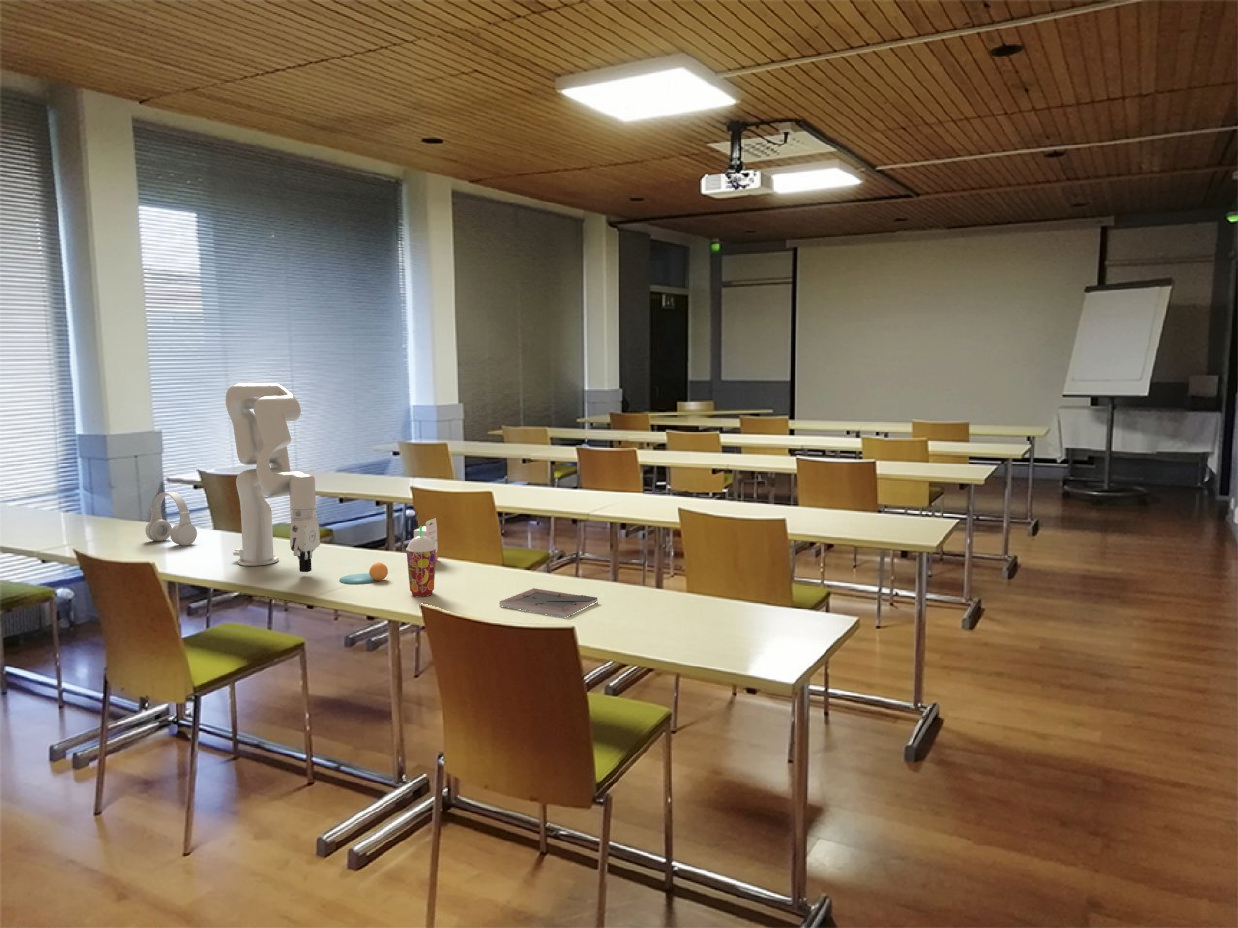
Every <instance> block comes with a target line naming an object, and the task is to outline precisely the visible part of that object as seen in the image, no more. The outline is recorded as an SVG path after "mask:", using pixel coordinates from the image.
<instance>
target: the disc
mask: <svg viewBox="0 0 1238 928" xmlns="http://www.w3.org/2000/svg"><path fill="white" fill-rule="evenodd" d="M338 581H339V582H340V583H342V584H345V585H366V584H367V585H368V584H372V583H376V582H378V581H377V580H374V579H372V578H371V576H370V574H369V572H368V573H367V572H366V573H355V574H354V573H353V574H348V575H345V576H342V577H341V578H339V580H338Z"/></svg>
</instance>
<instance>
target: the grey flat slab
mask: <svg viewBox="0 0 1238 928" xmlns="http://www.w3.org/2000/svg"><path fill="white" fill-rule="evenodd" d="M596 601H597V602H598V597H597V596H596V597H595V596H590V595H584V594H583V595H582V594H581V595H580V594H575V593H574V594H573V593H566V592H559V591H553V590H547V589H540V588H534V587H533V588H531V589H528V590H526V591H523V592H520V593H518V594H515V595H513V596H510V597H507V598H505V599H502V600H499V607H500V606H503V607H509V608H515V609H521V610H526V611H525V612H527V611H531V612H530V613H533V612H535V613H534V614H540V615H545V614H547V615H546V616H551V615H552V617H556V616H558V617H559V618H562V617H567V616H569V615H571V614H573V613H575V612H577V611H579V610H581V609H583V608H585V607H587V606H589V605H590V604H592V603H595V602H596ZM503 607H502V608H503ZM509 608H508V609H509ZM515 609H514V610H515ZM521 610H520V611H521ZM569 617H570V616H569ZM567 618H568V617H567Z"/></svg>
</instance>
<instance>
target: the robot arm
mask: <svg viewBox="0 0 1238 928" xmlns="http://www.w3.org/2000/svg"><path fill="white" fill-rule="evenodd" d="M225 407H226V411H227V413H228V416H229V418H230V420H231V423H232V428H233V433H234V440H235V441H234V442H235V448H236V455H237V458H238V459H237V460H238V461H239V462H240V464H243V465H246V466H255V465H256V467H255V468H249V469H246V470H245V469H244V470H243V471H242V472H240V473H238V474H237V477H236V480H235V484H236V490H237V494H238V499H239V504H240V505H239V508H240V519H241V520H240V521H241V523H240V524H241V542H242V543H241V546H242V548H236V549H234V550H233V553H232V555H233V556H238V557H239V559H237V564H238V565H240V566H245V567H246V566H247V567H248V566H249V567H251V566H252V567H258V566H266V565H272V564H274V563H277V562H279V556H278V555H275V554H274V538H273V537H274V535H273V534H274V533H273V514H272V513H273V511H272V508H271V505H270V504H269V502H267V501H266V499H265V497H267V498H280V497H288V496H289V505H290V506H289V508H290V510H289V511H290V529H289V544H290V550H291V551H292V552H293V556H294V557H297V559H298V563H299V565H298V567H299V572H300V573H309V572H311V571H312V569H313V568H312V558H313V552H314V551H315V550H316V548H319V547H320V545H321V536H320V535H321V534H320V526H319V520H318V517H317V501H316V498H317V497H316V496H317V495H316V478H315V476H314V475H313V474H308V473H304V472H302V471H297V470H296V471H291V465H290V458H289V452H288V445H289V444H291V442H292V437H291V433H290V431H289V427H288V426H289V425H288V424H287V422H295V421H297V420H299V418H300V417H301V415H302V414H301V412H302V410H301V405H300V403H299V400H298V399H297V398H296V396H294V394H293V393H291V392H290V391H289V390H287V389H286V388H285V387H283V386H282V385H281V384H278V383H271V382H270V383H269V382H268V383H267V382H266V383H265V382H264V383H263V382H261V383H257V382H255V383H254V382H247V383H246V382H245V383H236V384H233V385H231V386H230V387H229V388H228V389H227V391H226V393H225ZM252 410H253V411H252Z"/></svg>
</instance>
